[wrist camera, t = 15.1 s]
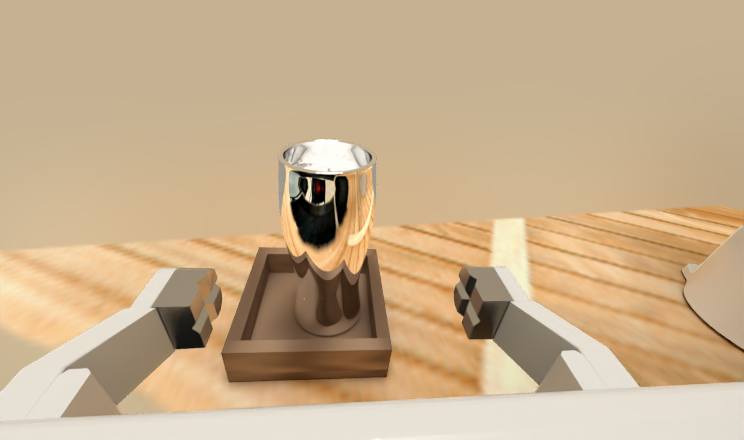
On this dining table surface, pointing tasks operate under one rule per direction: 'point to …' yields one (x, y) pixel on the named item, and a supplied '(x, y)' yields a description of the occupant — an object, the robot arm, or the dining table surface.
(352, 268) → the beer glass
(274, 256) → the walnut tray
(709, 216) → the dining table surface
